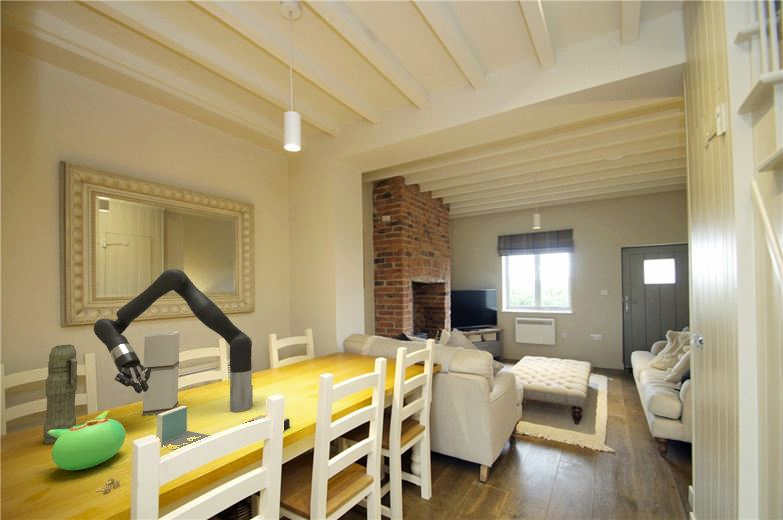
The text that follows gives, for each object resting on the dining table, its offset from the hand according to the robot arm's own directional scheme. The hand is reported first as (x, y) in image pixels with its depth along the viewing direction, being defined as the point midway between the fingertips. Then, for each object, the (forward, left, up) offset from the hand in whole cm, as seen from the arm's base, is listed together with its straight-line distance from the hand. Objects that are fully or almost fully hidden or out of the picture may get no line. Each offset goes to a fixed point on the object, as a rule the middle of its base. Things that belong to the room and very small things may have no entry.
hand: (143, 391), depth 138 cm
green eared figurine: (+24, +6, -16) cm, 29 cm away
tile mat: (+4, +22, -16) cm, 27 cm away
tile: (+3, +17, -15) cm, 23 cm away
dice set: (+33, +26, -17) cm, 45 cm away
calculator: (-11, +47, -17) cm, 51 cm away
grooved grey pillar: (-22, -14, -16) cm, 31 cm away
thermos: (+11, -26, -16) cm, 33 cm away
